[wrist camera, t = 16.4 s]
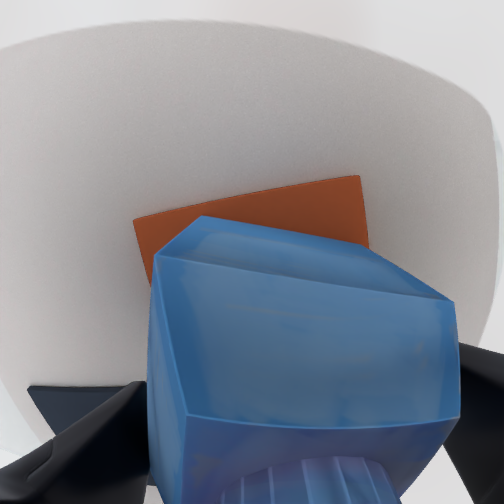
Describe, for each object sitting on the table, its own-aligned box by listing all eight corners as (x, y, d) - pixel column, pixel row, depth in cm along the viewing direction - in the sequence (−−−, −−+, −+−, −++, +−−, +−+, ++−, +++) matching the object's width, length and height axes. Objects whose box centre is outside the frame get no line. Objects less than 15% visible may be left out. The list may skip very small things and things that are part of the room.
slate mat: (201, 481, 16) (200, 486, 16) (91, 474, 16) (89, 478, 16) (149, 385, 14) (147, 390, 13) (30, 385, 14) (26, 389, 14)
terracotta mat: (370, 363, 14) (374, 368, 13) (192, 396, 14) (191, 403, 14) (355, 174, 12) (360, 175, 11) (136, 218, 12) (131, 220, 11)
